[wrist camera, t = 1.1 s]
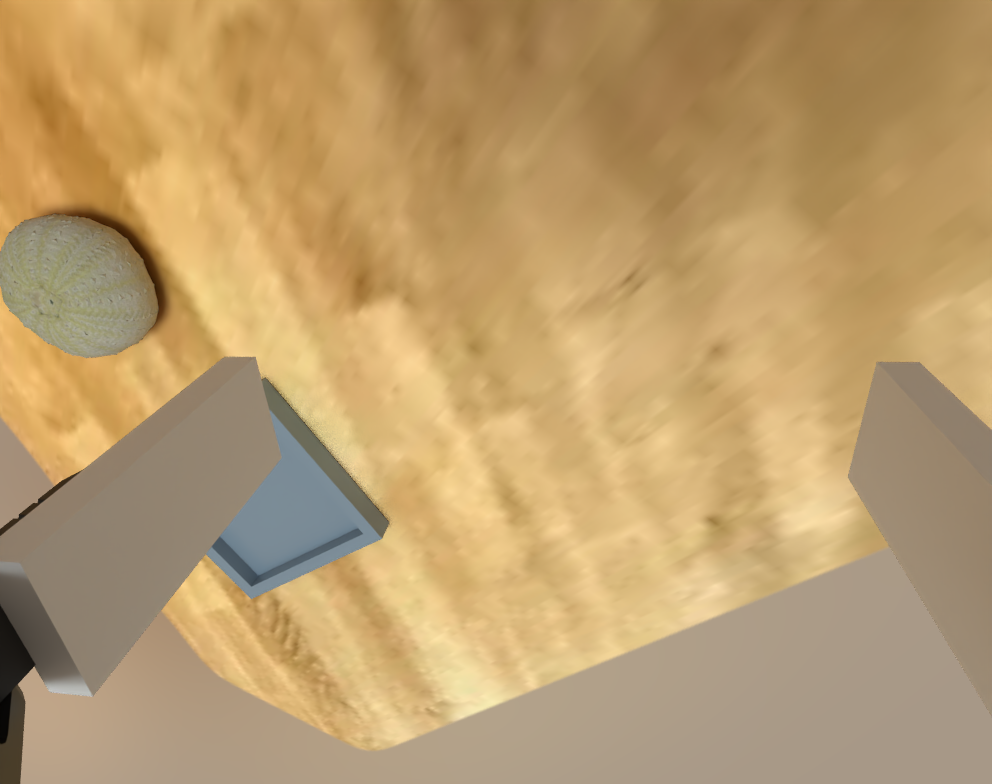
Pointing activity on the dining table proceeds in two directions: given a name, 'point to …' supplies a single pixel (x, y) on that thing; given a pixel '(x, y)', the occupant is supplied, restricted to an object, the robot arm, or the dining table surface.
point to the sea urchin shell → (77, 285)
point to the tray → (295, 512)
